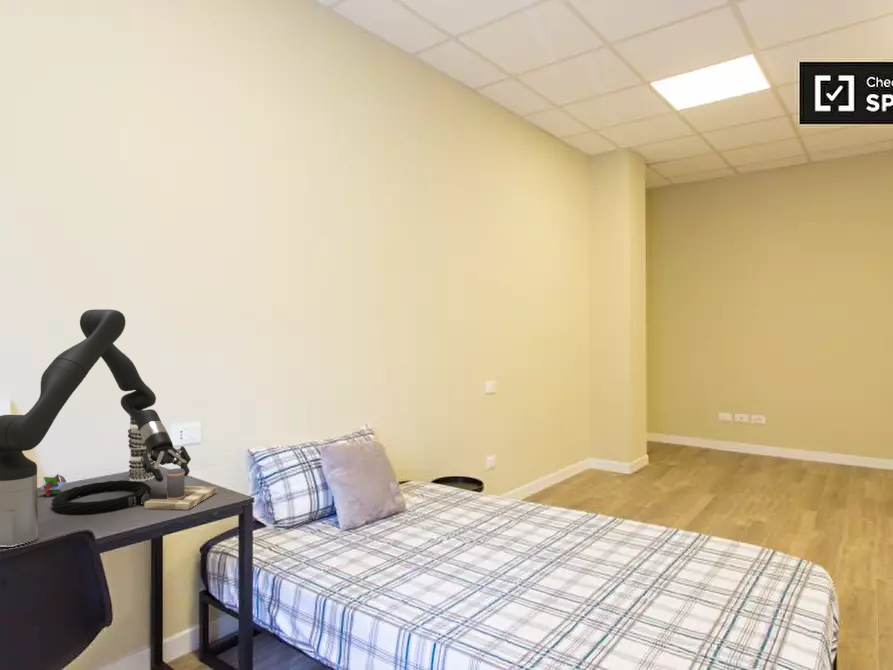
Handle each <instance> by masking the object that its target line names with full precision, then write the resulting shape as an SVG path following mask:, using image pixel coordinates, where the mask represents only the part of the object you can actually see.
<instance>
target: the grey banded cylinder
mask: <svg viewBox="0 0 893 670" xmlns="http://www.w3.org/2000/svg"><path fill="white" fill-rule="evenodd" d="M184 474H185V471H184V469H181V467H180V468H179V467H178V468H171V469H168V470H167V471H166V477H167V478H166V486H167V487H166V491H167V492H166V493H167V495H166V499H168V500H182V499H184V498H186V497H185V486H186V485H185V476H184Z"/></svg>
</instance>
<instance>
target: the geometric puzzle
mask: <svg viewBox="0 0 893 670" xmlns="http://www.w3.org/2000/svg"><path fill="white" fill-rule="evenodd" d="M43 480H44V483H43V485H41V486H39V488H37V491H38V490H39V491H40V492H42V493H45V495H46V498H49V497H50V496H51V495H58V494H60V493H62V491H61V489H62V487H63V486H64V485H66V484H67V481H66V478H65V477H64V476H62V475H60V474H58V473H57V474H56V475H51V476H48V475H47V476H43ZM41 483H42V482H41ZM41 483H40V484H41Z"/></svg>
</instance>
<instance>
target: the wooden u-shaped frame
mask: <svg viewBox="0 0 893 670" xmlns="http://www.w3.org/2000/svg"><path fill="white" fill-rule="evenodd" d="M184 486H185V496H188V497H185V498H184V499H182V500H168V499H167V498H166V499H165V498H164V499H162V498H150V500H148V501H146V502H144V505H143V506H144V509H145V510H162V509H185V510H184V511H189V510H191V509H192V507H193V506H194V507H196V506H198V505H199V504H201V503H202V502H201V501H203V500H204V499H206V498H207V497H209V496H211V495H213V494H214V495H216V494H217V493H218V487H217V486H200V485H199V486H198V485H197V486H196V485H195V486H194V485H184ZM215 493H216V494H215ZM214 495H213V496H214ZM211 497H212V496H211ZM209 498H210V497H209ZM206 500H207V499H206ZM204 501H205V500H204ZM204 501H203V502H204ZM200 502H201V503H200ZM198 503H199V504H198ZM197 504H198V505H197ZM195 505H196V506H195ZM194 507H193V508H194ZM190 508H191V509H190ZM188 509H189V510H188Z"/></svg>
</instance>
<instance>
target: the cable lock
mask: <svg viewBox="0 0 893 670" xmlns="http://www.w3.org/2000/svg"><path fill="white" fill-rule="evenodd" d="M117 490H126V491H125V492H133V493H132V494H126V495H124V496H119V497H116V498H112V499H111V498H110V499H104V500H98V501H97V500H94V501H85V502H84V501H83V502H82V501H72V500H74V499H77V498H80V497H79V496H81V497H84V496H83V495H85V496H88V495H92V494H91V493H94V494H99V493H98V492H101V493H104V491H108V492H118V491H117ZM134 491H135V492H134ZM151 493H152V488H151V486H150V485H148V484H147V483H146V482H144V481H130V480H124V479H122V480H121V479H120V480H108V481H103V482H93V483H90V484H89V483H88V484H83V485H81V486H74V487H71V488H70V489H69V488H68V489H65V490H62V491H61V493H60V494H55V495H54V498H52V500H51V503H50V504H51V505H52V506H51V507H52V509H54V511H56V512H57V513H58V512H59V513H62V514H67V515H68V514H69V515H87V513H91V514H100V513H99V512H101V513H105V512H106V511H107V512H112V510H113V511H117V509H118V510H120V509H124V507H125V508H132V507H135V506H138V505H140V506H142V504H143V506H144V502H146V501H148V500H150V499H151ZM71 499H72V500H71ZM141 503H142V504H141ZM131 506H132V507H131Z"/></svg>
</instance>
